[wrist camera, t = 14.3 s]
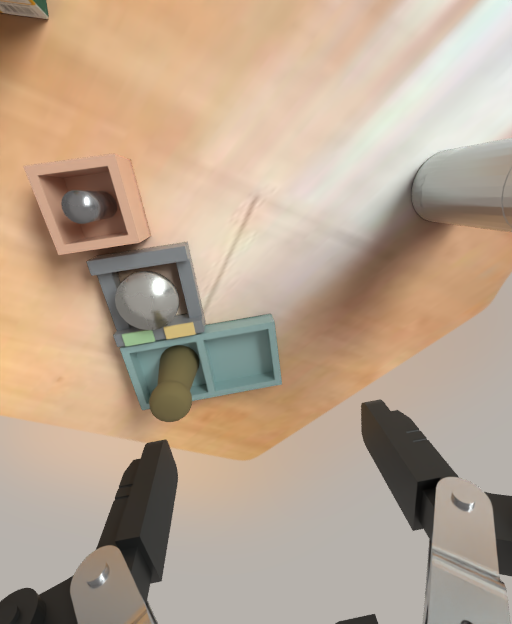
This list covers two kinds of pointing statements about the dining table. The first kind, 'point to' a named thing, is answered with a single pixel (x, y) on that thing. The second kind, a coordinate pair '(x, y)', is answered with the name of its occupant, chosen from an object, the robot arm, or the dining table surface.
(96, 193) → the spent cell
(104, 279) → the checker cradle
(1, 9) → the crayon box
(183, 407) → the olive gourd
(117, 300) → the silver domed disc
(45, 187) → the cup
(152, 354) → the teal divided tray
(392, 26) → the dining table surface
